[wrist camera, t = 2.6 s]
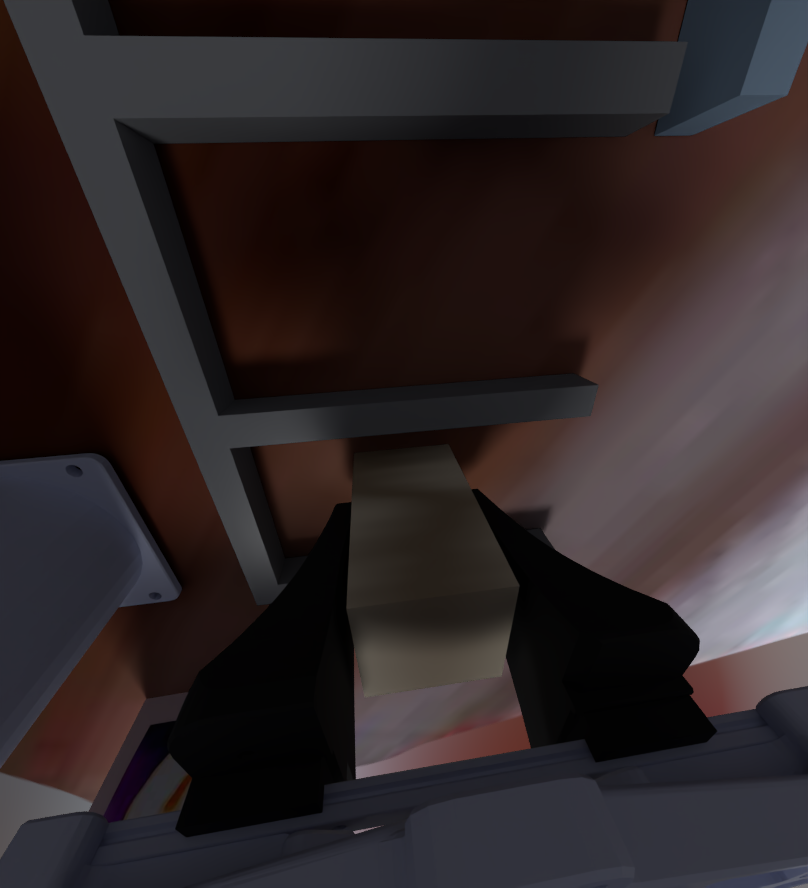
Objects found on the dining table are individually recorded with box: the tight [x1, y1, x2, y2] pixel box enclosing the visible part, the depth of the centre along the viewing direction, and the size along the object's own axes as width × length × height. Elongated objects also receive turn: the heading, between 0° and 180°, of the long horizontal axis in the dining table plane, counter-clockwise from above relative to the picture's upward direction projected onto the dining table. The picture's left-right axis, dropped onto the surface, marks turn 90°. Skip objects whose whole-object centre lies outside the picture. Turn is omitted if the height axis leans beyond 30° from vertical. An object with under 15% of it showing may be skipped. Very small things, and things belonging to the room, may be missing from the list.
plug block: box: [346, 444, 520, 697], centre depth 11 cm, size 4×4×7 cm
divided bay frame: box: [4, 0, 808, 605], centre depth 9 cm, size 16×26×2 cm, turn 2°
